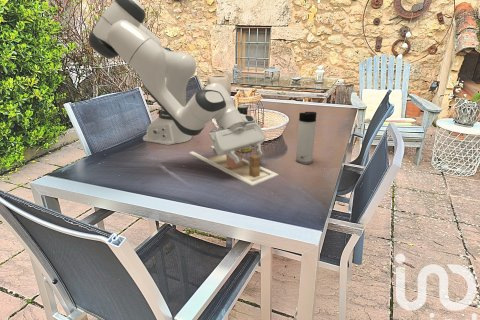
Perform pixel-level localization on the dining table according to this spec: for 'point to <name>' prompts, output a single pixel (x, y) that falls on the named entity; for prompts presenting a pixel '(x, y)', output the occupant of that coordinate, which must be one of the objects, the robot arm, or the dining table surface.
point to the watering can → (220, 81)
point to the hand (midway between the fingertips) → (249, 159)
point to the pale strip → (243, 167)
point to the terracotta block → (231, 162)
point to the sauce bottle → (243, 110)
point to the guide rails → (272, 174)
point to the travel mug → (306, 137)
